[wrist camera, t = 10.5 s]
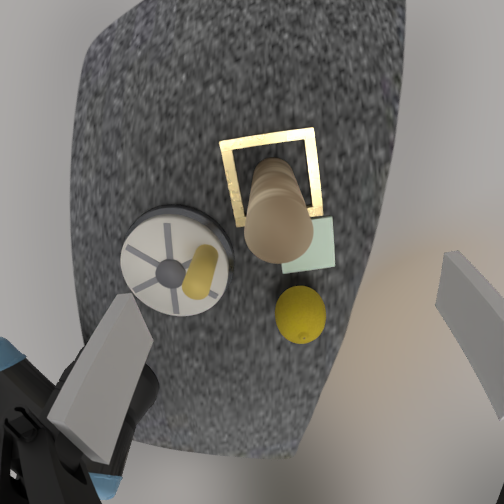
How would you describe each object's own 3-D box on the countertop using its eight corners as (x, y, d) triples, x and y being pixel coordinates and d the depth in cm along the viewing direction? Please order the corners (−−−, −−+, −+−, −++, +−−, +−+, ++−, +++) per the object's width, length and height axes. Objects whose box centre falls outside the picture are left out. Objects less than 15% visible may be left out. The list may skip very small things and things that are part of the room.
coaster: (282, 271, 35) (282, 273, 35) (275, 223, 32) (275, 224, 32) (334, 264, 35) (335, 266, 34) (331, 215, 32) (332, 217, 32)
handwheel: (164, 320, 37) (148, 363, 31) (106, 244, 33) (75, 278, 26) (248, 285, 34) (245, 330, 28) (190, 193, 30) (170, 221, 23)
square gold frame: (237, 224, 33) (236, 227, 32) (220, 140, 29) (219, 141, 28) (321, 212, 32) (323, 215, 31) (312, 127, 28) (313, 127, 27)
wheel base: (146, 308, 38) (144, 313, 37) (112, 216, 33) (107, 220, 32) (244, 298, 37) (243, 304, 36) (221, 194, 31) (219, 198, 30)
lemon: (312, 313, 38) (321, 359, 31) (269, 307, 38) (270, 353, 30) (325, 277, 35) (339, 321, 28) (279, 269, 35) (283, 313, 28)
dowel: (257, 198, 31) (251, 267, 19) (249, 160, 30) (238, 205, 17) (295, 192, 31) (316, 258, 18) (290, 154, 29) (309, 195, 17)
